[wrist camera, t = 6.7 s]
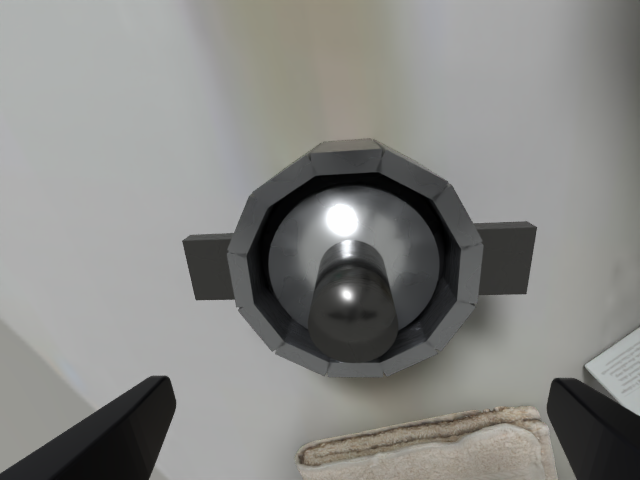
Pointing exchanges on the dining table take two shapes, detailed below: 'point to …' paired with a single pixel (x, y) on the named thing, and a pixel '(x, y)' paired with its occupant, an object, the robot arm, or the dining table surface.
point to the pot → (416, 188)
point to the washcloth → (439, 449)
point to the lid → (353, 268)
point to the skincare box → (620, 371)
